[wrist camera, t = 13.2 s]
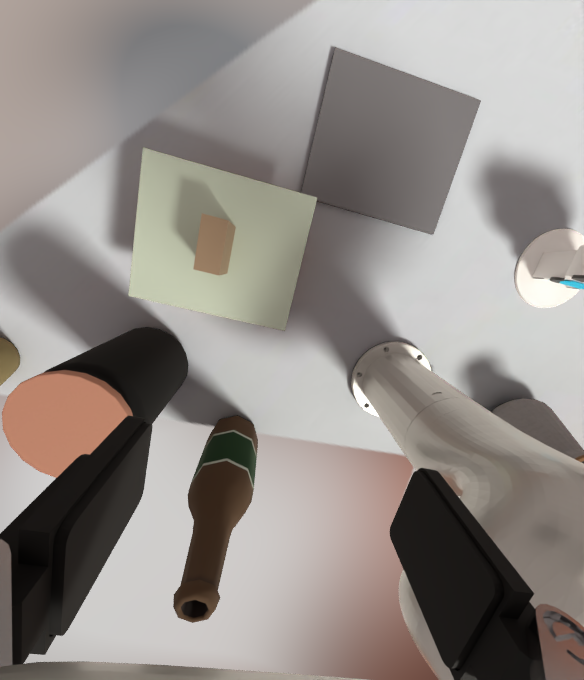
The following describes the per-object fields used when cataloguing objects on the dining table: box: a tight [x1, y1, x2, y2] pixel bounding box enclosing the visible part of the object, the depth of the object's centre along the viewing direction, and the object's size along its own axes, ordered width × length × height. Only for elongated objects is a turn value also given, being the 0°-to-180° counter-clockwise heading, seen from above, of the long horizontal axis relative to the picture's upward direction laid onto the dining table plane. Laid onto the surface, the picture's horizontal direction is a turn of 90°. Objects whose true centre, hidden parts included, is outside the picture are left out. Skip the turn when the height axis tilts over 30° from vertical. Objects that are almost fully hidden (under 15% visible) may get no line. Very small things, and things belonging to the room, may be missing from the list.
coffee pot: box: [492, 398, 584, 464], centre depth 42 cm, size 21×12×15 cm, turn 166°
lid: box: [128, 148, 317, 331], centre depth 29 cm, size 18×15×6 cm
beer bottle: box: [173, 415, 258, 623], centre depth 34 cm, size 8×8×24 cm
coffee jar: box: [2, 327, 188, 478], centre depth 33 cm, size 11×11×18 cm
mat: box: [301, 48, 481, 234], centre depth 36 cm, size 19×16×1 cm
